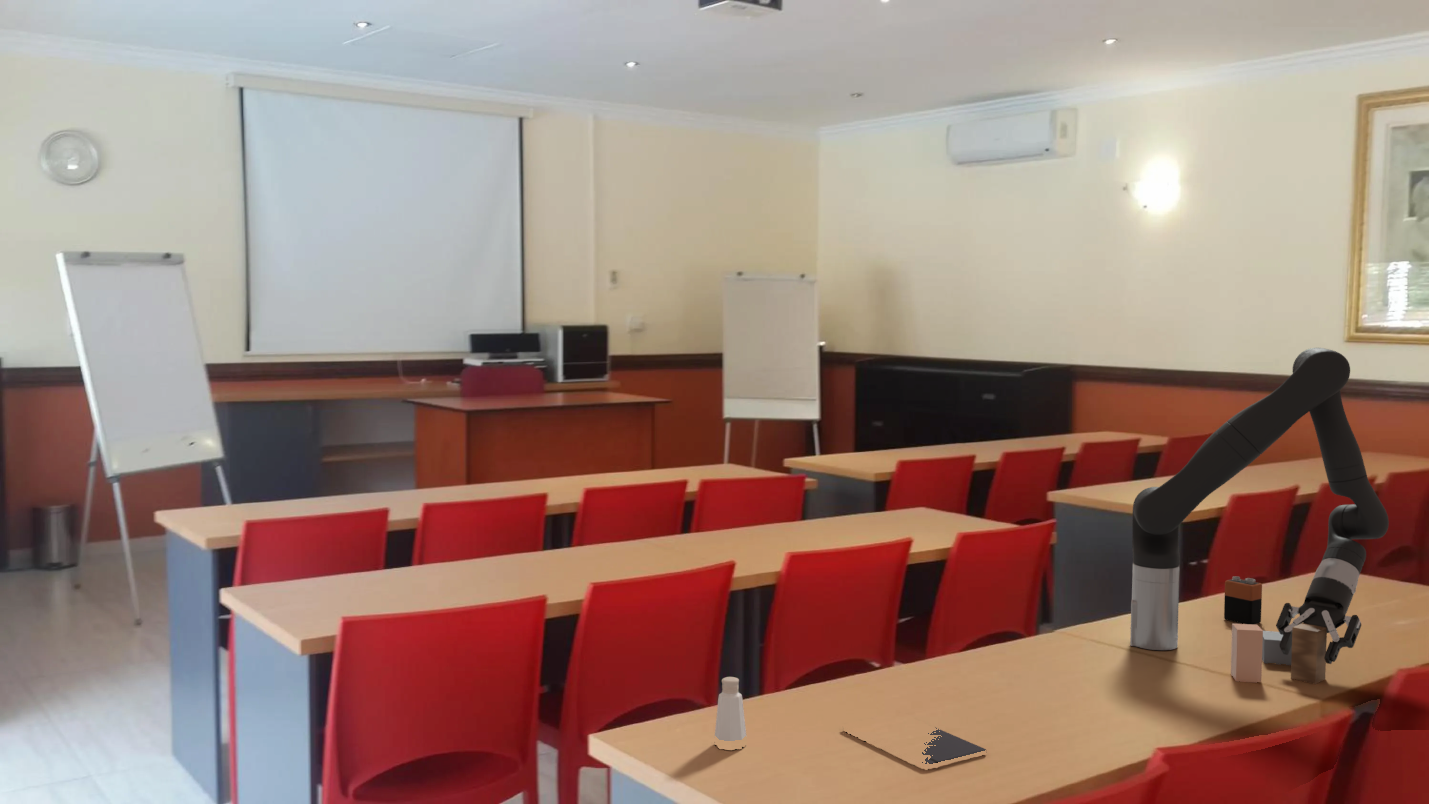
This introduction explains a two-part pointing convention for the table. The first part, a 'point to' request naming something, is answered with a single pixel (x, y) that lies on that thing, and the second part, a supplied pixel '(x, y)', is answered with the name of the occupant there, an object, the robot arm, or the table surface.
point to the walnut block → (1308, 653)
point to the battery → (1243, 600)
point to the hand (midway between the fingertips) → (1305, 656)
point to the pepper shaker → (730, 712)
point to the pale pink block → (1246, 652)
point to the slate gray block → (1274, 649)
